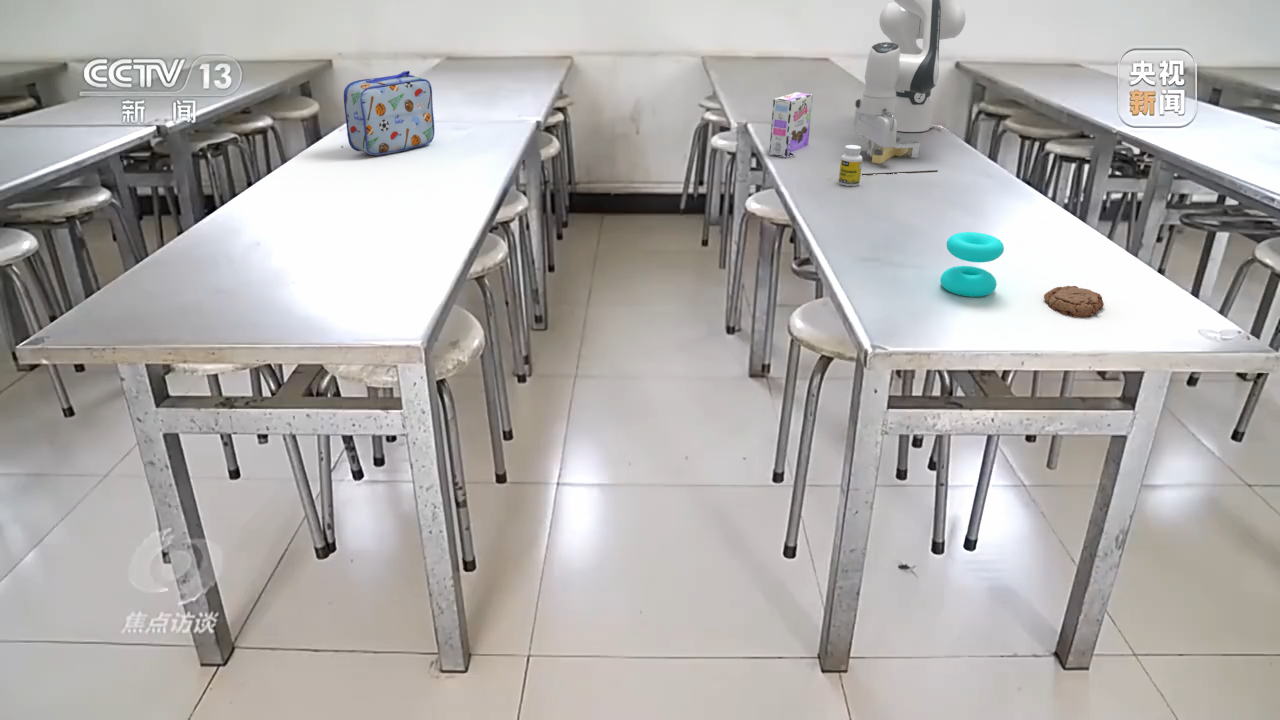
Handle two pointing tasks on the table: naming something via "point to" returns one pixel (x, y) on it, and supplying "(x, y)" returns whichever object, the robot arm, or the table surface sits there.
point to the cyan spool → (969, 277)
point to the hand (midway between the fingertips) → (871, 155)
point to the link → (887, 154)
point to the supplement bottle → (850, 166)
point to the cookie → (1074, 301)
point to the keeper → (911, 145)
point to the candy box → (790, 123)
